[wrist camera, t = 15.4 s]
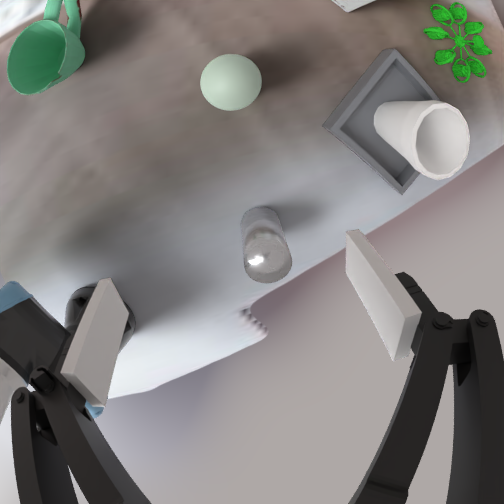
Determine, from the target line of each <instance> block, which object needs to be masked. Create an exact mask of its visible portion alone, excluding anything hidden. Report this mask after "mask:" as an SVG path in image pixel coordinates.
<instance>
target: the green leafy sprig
mask: <svg viewBox="0 0 504 504" xmlns="http://www.w3.org/2000/svg"><path fill="white" fill-rule="evenodd" d="M456 4H460V3H458V2H455V3H453V4H452V5H451V7H450V9H449V11H448V10H447V9H446V8H445V7H443V6H442V5H439V4H433V5H432V6H431V8H430V9H431V12H432V15H433V17H434V19H435V20H437V21H439V22H440V23H442V24H443V25H446V26H450V28H451V29H452V30H453V28H452V27H451V25H452V24H453V22H454V23H456V22H455V21H454V19H455V20H456V19H463V20H462V21H461V22H460V23H456V24H458V25H459V35H457V34H456V33H455V31H454V30H453V32H454V33H455V35H456V36H455V38H452V37H449V33H448V32H445V31H444V30H443V29H442V28H440V27H429V28H427V29H424V33H425V34H428V36H429V37H430V38H431V39H442V38H451V39H454V40H455V43H456V45H455V46H454V47H453V48H452V49H448V50H439V51H437V52H436V54H435V56H436V57H435V58H434V61H435V63H436V64H438V65H442V64H446V63H451V62H453V60H454V58H455V56H456V53H455V51H454V50H453V49H454V48H455V47H456V46H458V47H460V55H461V59H457V60H456V61H455V62H454V65H453V67H452V71H453V73H454V77H455V78H456V80H457V81H459V82H462V83H465V82H467V81H468V80H469V78H470V74H471V72H472V73H474V74H475V75H476V76H478V77H481V78H483V77H485V76H486V69H485V67H484V65H483V64H482V63H481V62H480V61H479V60H478V59H476V58H475V57H472V56H470V55H469V53H468V51H467V50H466V48H465V44H467V45H470V49H473V51H474V53H475V54H477V55H488V54H492V50H490V49H489V48H488V47H487V46H486V45H484V41H483V39H482V38H481V36H479V35H474V36H473V40H464V38H465V37H466V36H467V35H468V34H478V33H481V32H482V29H483V28H484V25H483V24H482V23H481V22H467V23H466V24H465V29H464V31H465V32H466V33H467V34H466V35H465V36H464V37H462V36H461V33H460V25H461V24H463V23H464V22H465V21H466V18H467V11H466V9H465V7H464V6H463V5H462V4H460V5H461V6H462V7H463V9H464V10H463V9H462V8H458V7H457V8H453V7H454V6H455V5H456ZM433 6H438V7H440V8H442V9H437V10H434V11H433ZM450 18H451V24H447V23H444V22H443V21H447V20H449V19H450ZM480 25H481V26H480ZM465 42H469V43H474V44H473V45H471V44H468V43H465ZM462 47H464V49H465V50H466V52H467V54H468V55H469V57H468V58H467V59H466V61H465V60H464V59H462ZM451 52H454V53H453V54H452V53H451ZM469 58H470V59H473V60H475V61H469V62H468V59H469ZM437 60H438V61H439V62H437ZM460 60H463V61H464V62H465V63H466V65H467V66H465V65H462V64H457V63H458V62H459V61H460ZM457 70H458V71H457ZM483 71H484V75H479V74H477V73H482V72H483ZM457 76H461V77H466V76H467V78H466V79H465V80H464V81H460V80H459V79H458V78H457Z"/></svg>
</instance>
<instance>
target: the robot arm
mask: <svg viewBox="0 0 504 504" xmlns="http://www.w3.org/2000/svg"><path fill="white" fill-rule="evenodd" d="M346 274H347V276H348V278H349V280H350V281H351V283H352V285H353V287H354V288H355V290H356V292H357V294H358V296H359V297H360V299H361V301H362V303H363V305H364V306H365V308H366V310H367V311H368V314H369V316H370V318H371V320H372V321H373V323H374V325H375V327H376V329H377V331H378V333H379V335H380V337H381V338H382V340H383V342H384V344H385V346H386V348H387V350H388V352H389V354H390V356H391V358H392V360H393V361H396V360H399V359H402V358H405V357H407V356H408V355H409V352H410V349H412V351H413V352H414V354H415V355H414V358H413V361H412V363H411V366H410V371H409V373H408V376H407V380H406V383H405V385H404V388H403V391H402V394H401V396H400V399H399V402H398V404H397V407H396V409H395V412H394V415H393V417H392V419H391V422H390V424H389V426H388V429H387V431H386V433H385V435H384V438H383V440H382V442H381V444H380V447H379V449H378V451H377V453H376V455H375V457H374V459H373V461H372V463H371V465H370V467H369V469H368V471H367V472H366V475H365V476H364V478H363V480H362V482H361V484H360V485H359V487H358V489H357V491H356V492H355V494H354V496H353V497H352V499H351V500H350V502H349V503H348V504H405V503H406V500H407V497H408V489H409V486H410V484H411V481H412V479H413V477H414V475H415V472H416V470H417V467H418V465H419V462H420V460H421V457H422V455H423V452H424V449H425V447H426V444H427V441H428V438H429V435H430V432H431V429H432V426H433V423H434V420H435V416H436V413H437V410H438V406H439V403H440V399H441V395H442V391H443V387H444V383H445V379H446V374H447V370H448V365H452V364H453V376H454V377H453V378H454V439H453V454H452V465H451V475H450V482H449V490H448V496H447V501H446V504H504V359H503V354H502V349H501V344H500V340H499V336H498V331H497V327H496V323H495V320H494V318H493V316H492V315H491V314H490V313H489V312H487V311H485V310H475V311H473V312H472V313H471V315H470V317H469V319H457V320H455V319H453V318H452V317H450V316H449V315H448V314H446V313H444V312H438V311H437V309H436V308H435V307H434V305H433V304H432V303H431V301H430V300H429V298H428V297H427V296H426V294H425V293H424V292H422V289H421V288H420V287H419V286H418V284H417V283H416V282H415V280H414V279H413V278H412V277H411V276H409V275H408V274H406V273H405V272H402V273H398V274H394V273H393V272H392V271H391V269H390V268H389V266H388V265H387V264H386V263H385V261H384V260H383V259H382V258H381V256H380V255H379V254H378V252H377V251H376V250H375V248H374V247H373V246H372V245H371V244H370V242H369V241H368V240H367V238H366V237H365V236H364V235H363V234H362V232H361V231H360V230H359V229H357V230H352V231H347V232H346ZM134 327H135V319H134V316H133V313H132V311H131V310H130V308H129V307H128V306H127V305H126V304H125V302H123V301H122V299H121V297H120V295H119V294H118V292H117V290H116V288H115V286H114V284H113V282H112V280H111V278H106V279H101V280H99V282H98V284H97V286H96V288H94V287H86V288H81V289H79V290H77V291H75V292H74V293H73V294H72V296H71V298H70V299H69V301H68V303H67V307H66V315H65V327H63V326H62V325H61V324H60V323H59V322H58V321H57V320H56V319H55V318H54V317H53V316H52V315H50V314H49V313H48V312H47V311H46V310H45V309H44V308H43V307H42V306H41V305H40V304H39V303H38V301H37V300H36V299H35V298H34V297H33V295H32V294H29V293H28V292H27V291H26V290H25V289H24V288H23V287H22V286H21V285H20V284H19V283H18V282H15V281H10V282H8V283H6V284H5V285H4V286H3V287H2V288H1V289H0V424H1V421H2V419H3V416H4V414H5V411H6V409H7V406H8V404H9V402H10V400H11V430H12V445H13V458H14V467H15V475H16V481H17V488H18V493H19V499H20V504H78V501H77V497H76V494H75V490H74V487H73V484H72V480H71V476H70V472H69V468H70V470H71V472H72V474H73V476H74V478H75V480H76V481H77V483H78V485H79V487H80V489H81V491H82V492H83V494H84V496H85V498H86V499H87V501H88V503H89V504H151V503H150V501H149V500H148V499H147V498H146V496H145V495H144V494H143V493H142V492H141V490H140V489H139V487H138V486H137V485H136V483H135V482H134V481H133V480H132V478H131V477H130V476H129V474H128V473H127V471H126V470H125V469H124V467H123V465H122V464H121V463H120V461H119V460H118V459H117V457H116V455H115V454H114V452H113V451H112V449H111V448H110V446H109V444H108V443H107V441H106V440H105V438H104V436H103V435H102V433H101V431H100V430H99V428H98V426H97V424H96V423H95V421H94V418H97V417H98V416H99V415H101V414H102V412H103V409H104V407H105V406H106V401H107V399H108V392H109V388H110V383H111V379H112V375H113V371H114V367H115V363H116V359H117V356H118V354H119V353H120V351H121V350H122V349H123V348H124V346H125V345H126V344H127V343H128V341H129V340H130V339H131V337H132V334H133V331H134ZM28 384H30V385H31V386H33V388H34V389H35V390H36V391H33V392H30V391H29V390H28V389H27V386H28ZM68 466H69V468H68Z"/></svg>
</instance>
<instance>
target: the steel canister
mask: <svg viewBox="0 0 504 504" xmlns="http://www.w3.org/2000/svg"><path fill="white" fill-rule="evenodd" d="M241 230H242V242H243V254H244V265H245V270H246V273H247V274H248V276H249V277H250V278H252V279H253V280H255V281H257V282H260V283H272V282H276V281H278V280H280V279H282V278H283V277H285V276H286V275H287V274H288V272H289V271H290V269H291V266H292V258H291V255H290V252H289V249H288V245H287V242H286V239H285V236H284V233H283V230H282V227H281V224H280V221H279V218H278V216H277V214H276V213H275V212H274V211H273V210H272V209H270V208H267V207H255V208H252V209H250V210H249V211H247V212H246V213H245V215H244V216H243V218H242V221H241Z"/></svg>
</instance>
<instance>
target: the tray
mask: <svg viewBox="0 0 504 504" xmlns="http://www.w3.org/2000/svg"><path fill="white" fill-rule="evenodd" d="M430 100H437V101H441V100H440V99H439V98H438V97H437V95H436V94H435V93H434V92H433V90H432V89H431V88H430V87H429V86H428V84H427V83H426V82H425V81H424V80H423V78H422V77H421V76H420V75H419V74H418V73H417V72H416V70H415V69H414V68H413V67H412V66H411V65H410V64H409V63H408V62H407V61H406V60H405V59H404V57H403V56H402V55H401V54H400V53H399V52H398V51H397V50H396V49H385V50H383V51H382V52H381V53H380V54H379V56H378V57H377V58H376V59H375V60H374V62H373V63H372V64H371V65H370V67H369V68H368V69H367V70H366V72H365V73H364V74H363V75H362V76H361V78H360V79H359V80H358V81H357V83H356V84H355V85H354V86H353V88H352V89H351V90H350V91H349V93H348V94H347V95H346V96H345V98H344V99H343V100H342V101H341V103H340V104H339V105H338V106H337V108H336V109H335V110H334V111H333V113H332V114H331V115H330V116H329V118H328V119H327V120H326V122H325V123H324V124H323V125H322V126H323V127H324V128H325V129H327V130H328V131H329V132H330V133H332V134H333V135H334V136H335V137H336V138H338V139H339V140H340V141H341V142H342V143H344V144H345V145H346V146H347V147H348V148H350V149H351V150H352V151H353V152H354V153H355V154H357V155H358V156H359V157H360V158H361V159H362V160H363V161H364V162H366V163H367V164H368V165H369V166H370V167H371V168H372V169H373V170H374V171H376V172H377V173H378V174H379V175H380V176H381V177H382V178H383V179H384V180H385V181H386V182H387V183H388V184H389V185H390V186H391V187H392V188H394V189H395V190H396V191H397V192H399V193H400V194H401V195H403V193H404V192H405V191H406V190H407V189H408V187H409V186H410V185H411V184H412V182H413V181H414V180H415V179H416V178H417V176H418V175H419V174H420V172H418V171H417V170H415V169H414V168H413V166H412V165H411V164H410V163H409V162H408V161H407V159H405V158H404V157H403V156H402V155H401V154H400V153H399V152H398V151H396V150H395V149H394V148H393V147H392V146H391V145H390V144H388V143H387V142H386V141H385V140H384V139H383V138H382V137H381V136H380V135H379V134H378V133H377V132H376V129H375V126H374V114H375V112H376V110H377V108H378V107H379V106H380V105H382V104H383V103H384V102H391V101H430Z"/></svg>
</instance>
